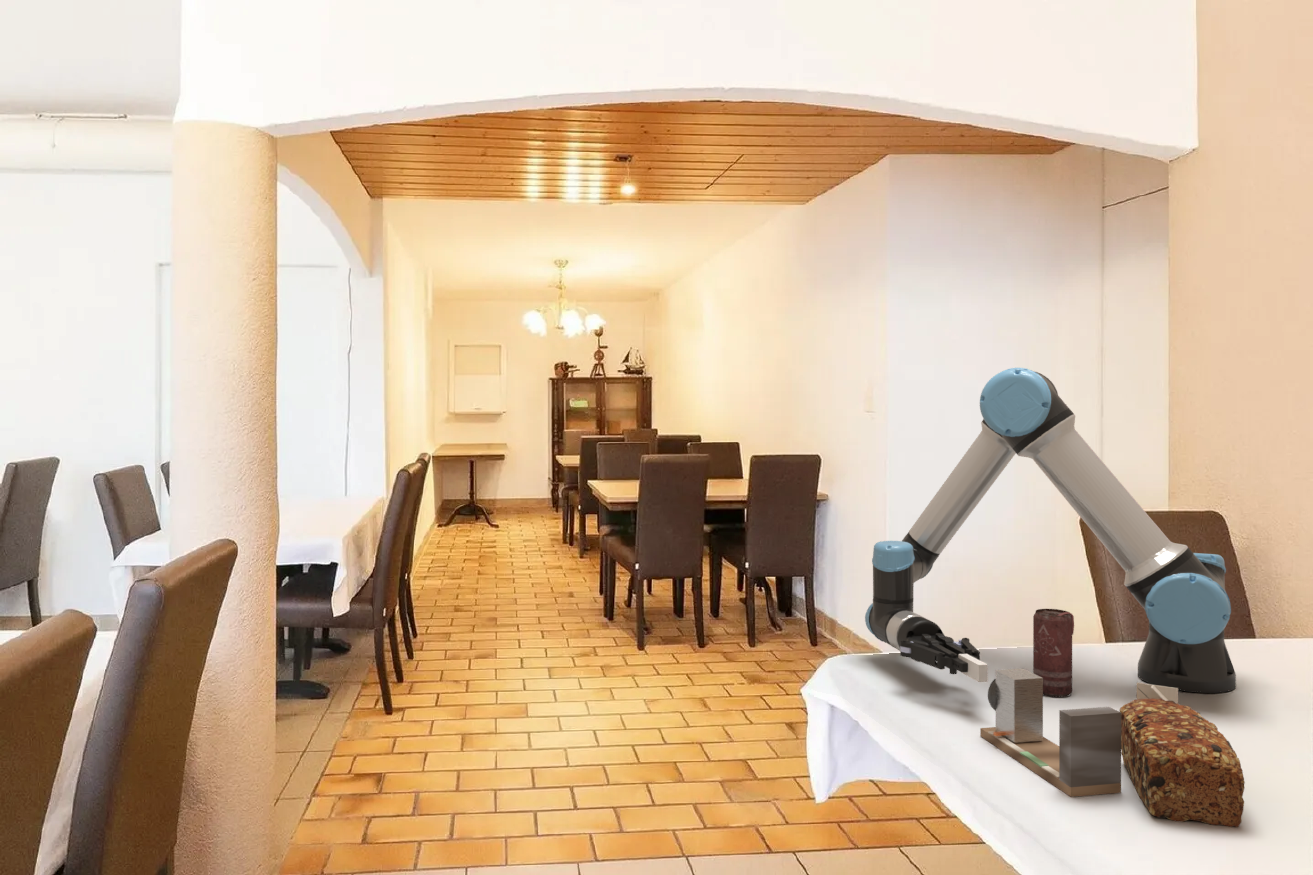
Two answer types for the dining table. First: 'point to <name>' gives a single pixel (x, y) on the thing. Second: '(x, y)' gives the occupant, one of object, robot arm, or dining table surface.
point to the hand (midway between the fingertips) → (983, 673)
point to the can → (1053, 650)
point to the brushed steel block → (1017, 705)
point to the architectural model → (1157, 692)
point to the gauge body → (1073, 752)
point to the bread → (1181, 763)
